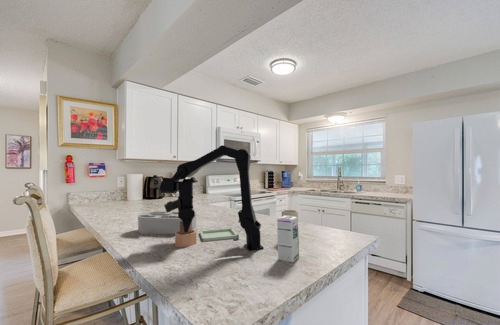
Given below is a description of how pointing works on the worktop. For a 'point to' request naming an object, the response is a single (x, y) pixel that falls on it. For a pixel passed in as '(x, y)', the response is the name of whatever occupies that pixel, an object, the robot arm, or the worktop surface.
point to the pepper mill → (183, 228)
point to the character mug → (290, 213)
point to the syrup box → (288, 238)
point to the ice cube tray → (160, 223)
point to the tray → (218, 234)
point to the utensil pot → (185, 239)
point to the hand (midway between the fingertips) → (185, 230)
